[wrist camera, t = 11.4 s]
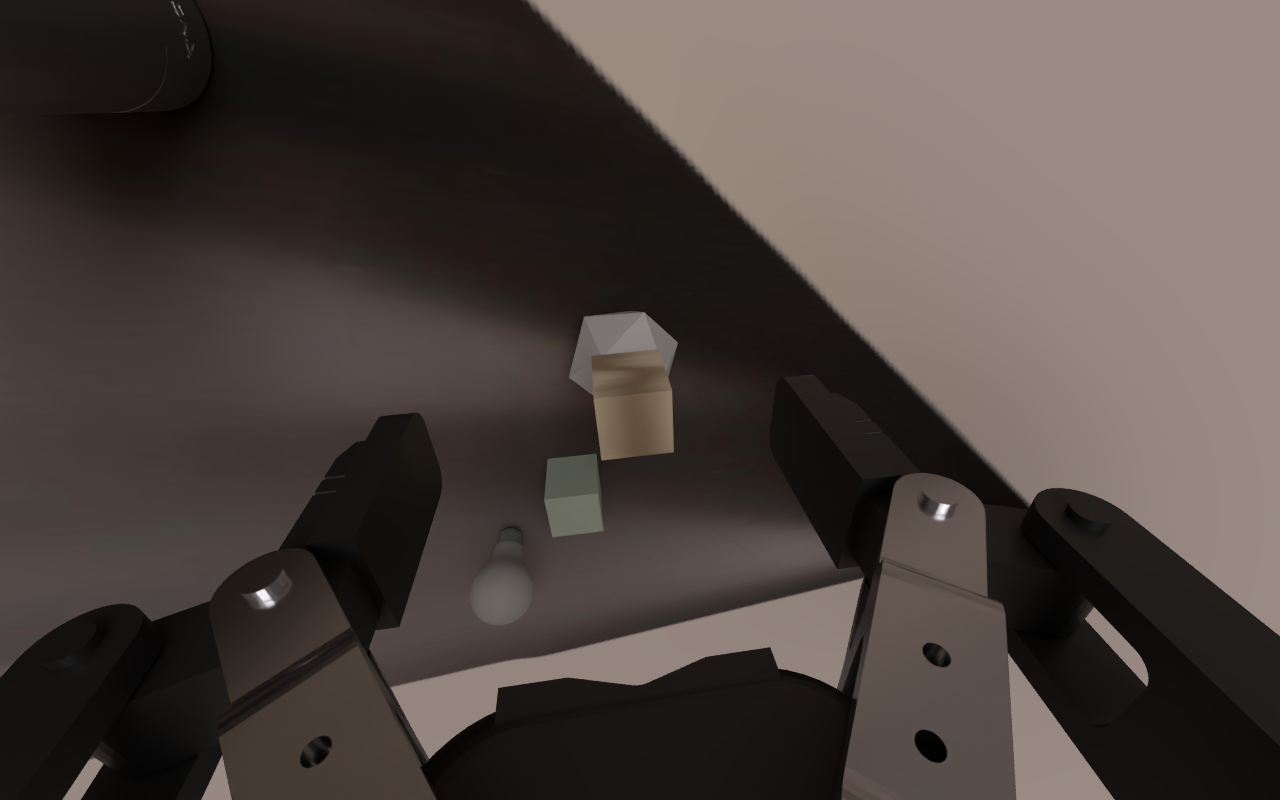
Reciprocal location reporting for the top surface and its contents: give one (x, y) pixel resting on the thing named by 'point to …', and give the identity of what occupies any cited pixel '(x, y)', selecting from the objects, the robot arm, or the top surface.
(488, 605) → the lightbulb
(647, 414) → the maple block
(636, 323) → the die
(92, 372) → the top surface
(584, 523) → the sage block
